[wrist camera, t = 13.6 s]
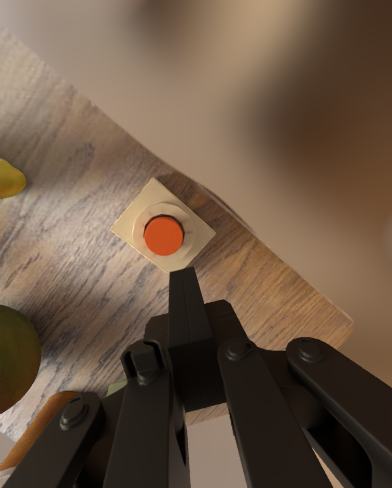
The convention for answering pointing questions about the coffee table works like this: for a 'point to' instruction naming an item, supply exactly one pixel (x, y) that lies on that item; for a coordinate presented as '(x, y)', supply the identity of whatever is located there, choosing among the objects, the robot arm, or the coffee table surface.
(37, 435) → the disposable coffee cup
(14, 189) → the bottle
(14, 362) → the fruit
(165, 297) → the coffee table surface
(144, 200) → the switch base
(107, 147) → the coffee table surface
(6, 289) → the coffee table surface
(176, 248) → the switch button
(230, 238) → the coffee table surface
